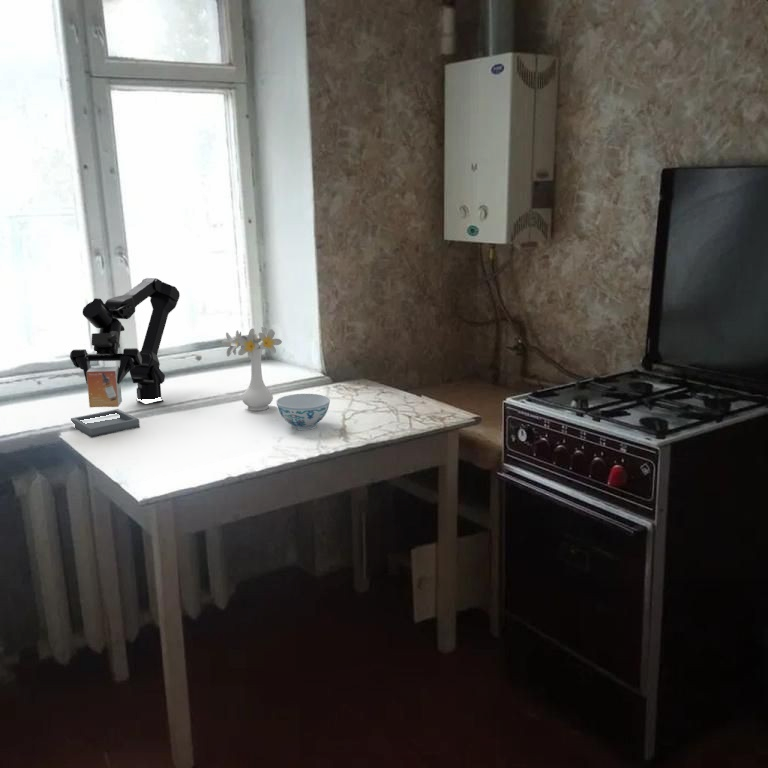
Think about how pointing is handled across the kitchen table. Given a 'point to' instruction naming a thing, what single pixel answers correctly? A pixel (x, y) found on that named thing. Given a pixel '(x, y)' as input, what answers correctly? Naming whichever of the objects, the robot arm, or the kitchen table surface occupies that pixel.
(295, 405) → the chinaware
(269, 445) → the kitchen table surface
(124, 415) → the tray
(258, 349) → the flower vase
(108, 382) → the small box
